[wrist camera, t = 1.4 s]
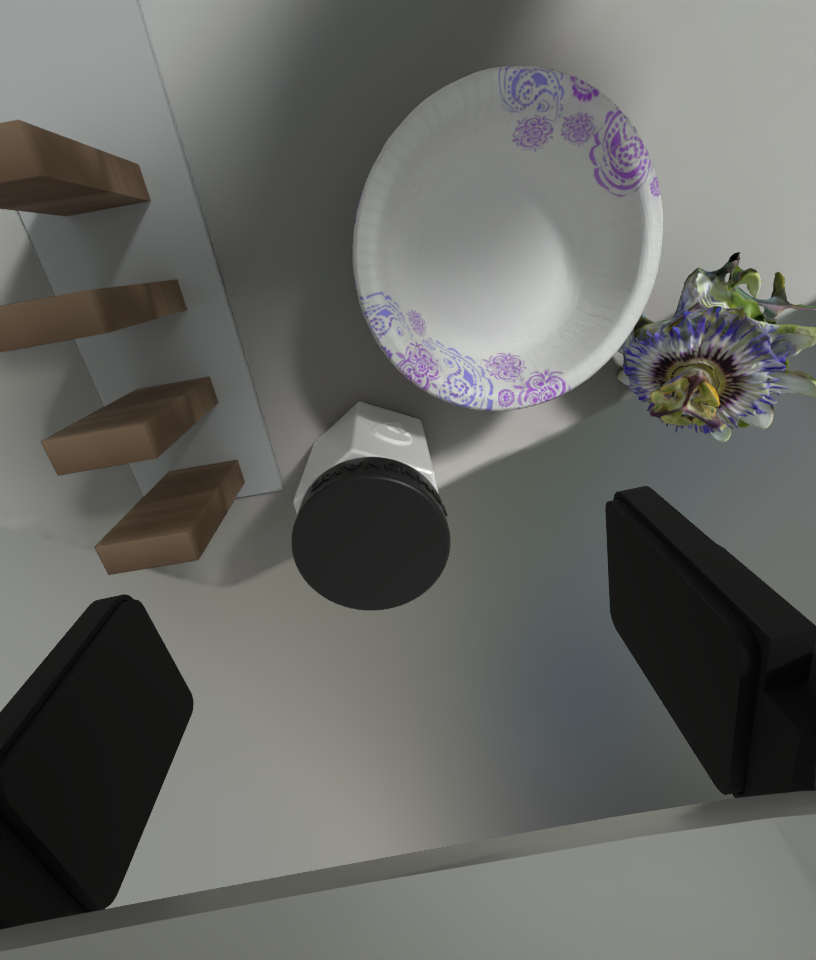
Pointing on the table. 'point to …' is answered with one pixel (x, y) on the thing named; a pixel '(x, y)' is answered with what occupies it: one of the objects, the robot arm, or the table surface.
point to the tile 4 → (131, 427)
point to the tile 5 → (172, 519)
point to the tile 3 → (86, 313)
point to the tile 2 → (62, 174)
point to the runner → (133, 224)
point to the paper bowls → (507, 238)
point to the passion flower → (718, 354)
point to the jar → (370, 512)
